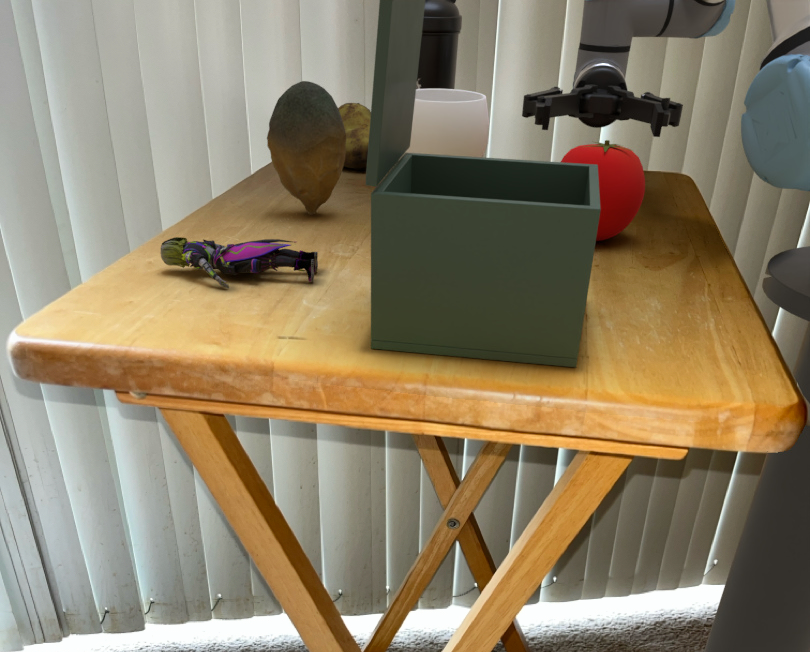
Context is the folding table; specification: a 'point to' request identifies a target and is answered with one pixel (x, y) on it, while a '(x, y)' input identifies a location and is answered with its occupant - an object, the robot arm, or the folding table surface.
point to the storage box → (483, 257)
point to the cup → (449, 123)
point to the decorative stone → (307, 143)
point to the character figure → (237, 257)
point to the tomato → (613, 184)
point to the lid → (393, 84)
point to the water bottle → (439, 45)
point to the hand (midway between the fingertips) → (602, 121)
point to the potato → (356, 134)
